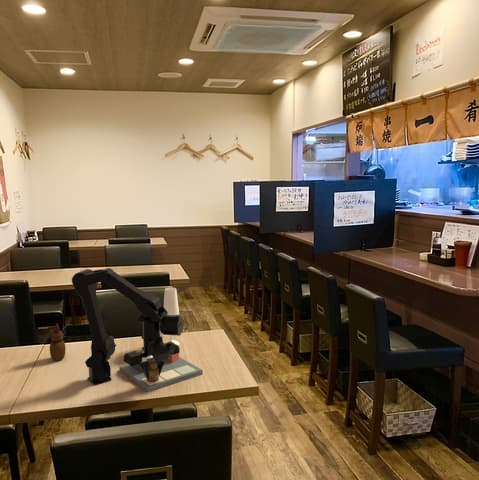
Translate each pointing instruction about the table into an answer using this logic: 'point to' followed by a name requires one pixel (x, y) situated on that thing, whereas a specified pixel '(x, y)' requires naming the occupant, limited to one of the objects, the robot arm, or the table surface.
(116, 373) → the table surface
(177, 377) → the game board
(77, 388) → the table surface
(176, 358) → the red die
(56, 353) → the wooden figurine
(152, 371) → the walnut pawn
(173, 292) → the champagne flute
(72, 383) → the table surface
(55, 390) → the table surface
